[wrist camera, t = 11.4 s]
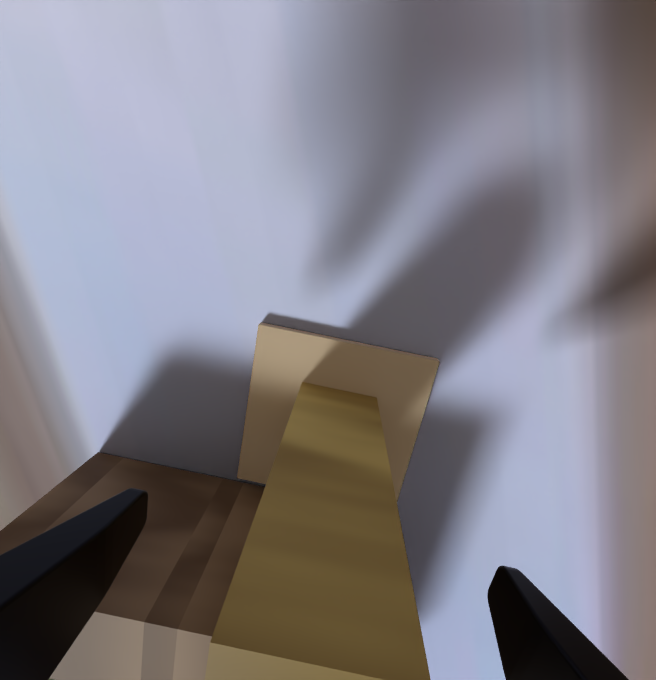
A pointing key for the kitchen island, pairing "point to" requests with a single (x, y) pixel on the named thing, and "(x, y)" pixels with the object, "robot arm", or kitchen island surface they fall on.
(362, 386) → the pad
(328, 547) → the square wooden peg
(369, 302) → the kitchen island surface
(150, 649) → the block
